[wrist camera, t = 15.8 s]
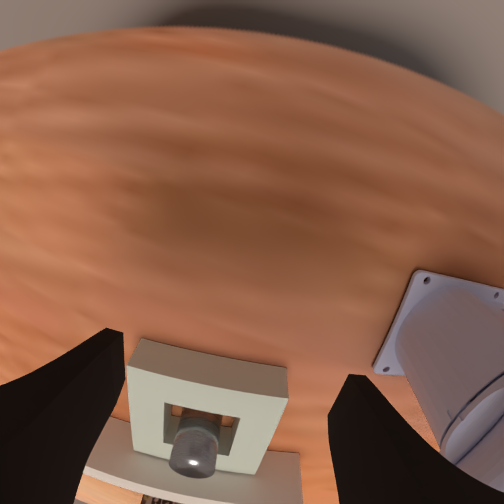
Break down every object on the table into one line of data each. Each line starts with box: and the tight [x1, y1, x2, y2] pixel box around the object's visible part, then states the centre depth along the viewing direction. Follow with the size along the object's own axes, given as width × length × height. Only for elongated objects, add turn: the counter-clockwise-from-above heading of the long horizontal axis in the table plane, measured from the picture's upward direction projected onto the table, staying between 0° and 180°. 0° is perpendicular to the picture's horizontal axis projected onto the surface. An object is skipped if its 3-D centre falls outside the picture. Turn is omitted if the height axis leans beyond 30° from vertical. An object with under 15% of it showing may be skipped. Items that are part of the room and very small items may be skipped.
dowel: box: [169, 407, 223, 479], centre depth 19 cm, size 3×3×6 cm
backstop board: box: [83, 417, 303, 504], centre depth 21 cm, size 20×2×6 cm, turn 79°
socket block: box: [127, 338, 289, 475], centre depth 21 cm, size 10×10×3 cm
